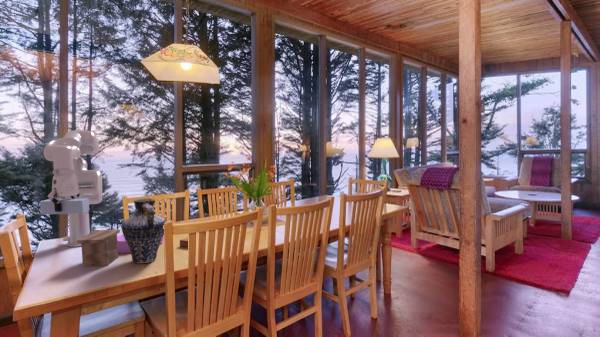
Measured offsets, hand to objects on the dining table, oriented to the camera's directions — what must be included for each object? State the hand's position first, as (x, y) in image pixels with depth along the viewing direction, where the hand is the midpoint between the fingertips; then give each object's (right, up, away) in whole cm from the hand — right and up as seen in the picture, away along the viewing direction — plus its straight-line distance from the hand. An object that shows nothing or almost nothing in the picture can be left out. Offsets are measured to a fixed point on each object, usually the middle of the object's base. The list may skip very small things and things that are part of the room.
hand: (66, 209), depth 157 cm
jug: (+35, -26, +5) cm, 44 cm away
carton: (+51, -24, +32) cm, 65 cm away
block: (0, -1, 0) cm, 1 cm away
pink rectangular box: (+22, -24, +27) cm, 42 cm away
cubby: (+14, -26, +4) cm, 30 cm away
